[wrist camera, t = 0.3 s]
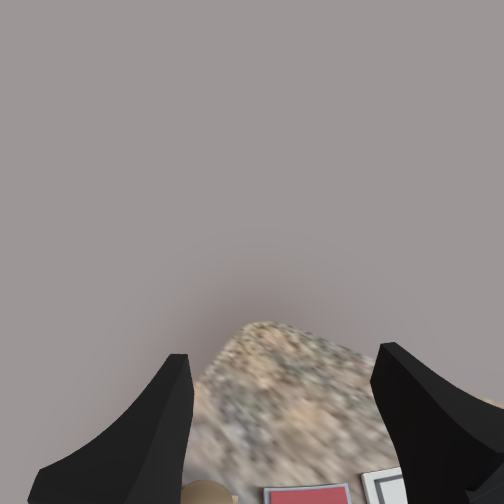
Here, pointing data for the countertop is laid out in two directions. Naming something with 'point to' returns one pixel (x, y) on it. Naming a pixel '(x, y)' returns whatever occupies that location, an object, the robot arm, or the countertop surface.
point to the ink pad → (308, 495)
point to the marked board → (384, 487)
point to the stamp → (206, 493)
